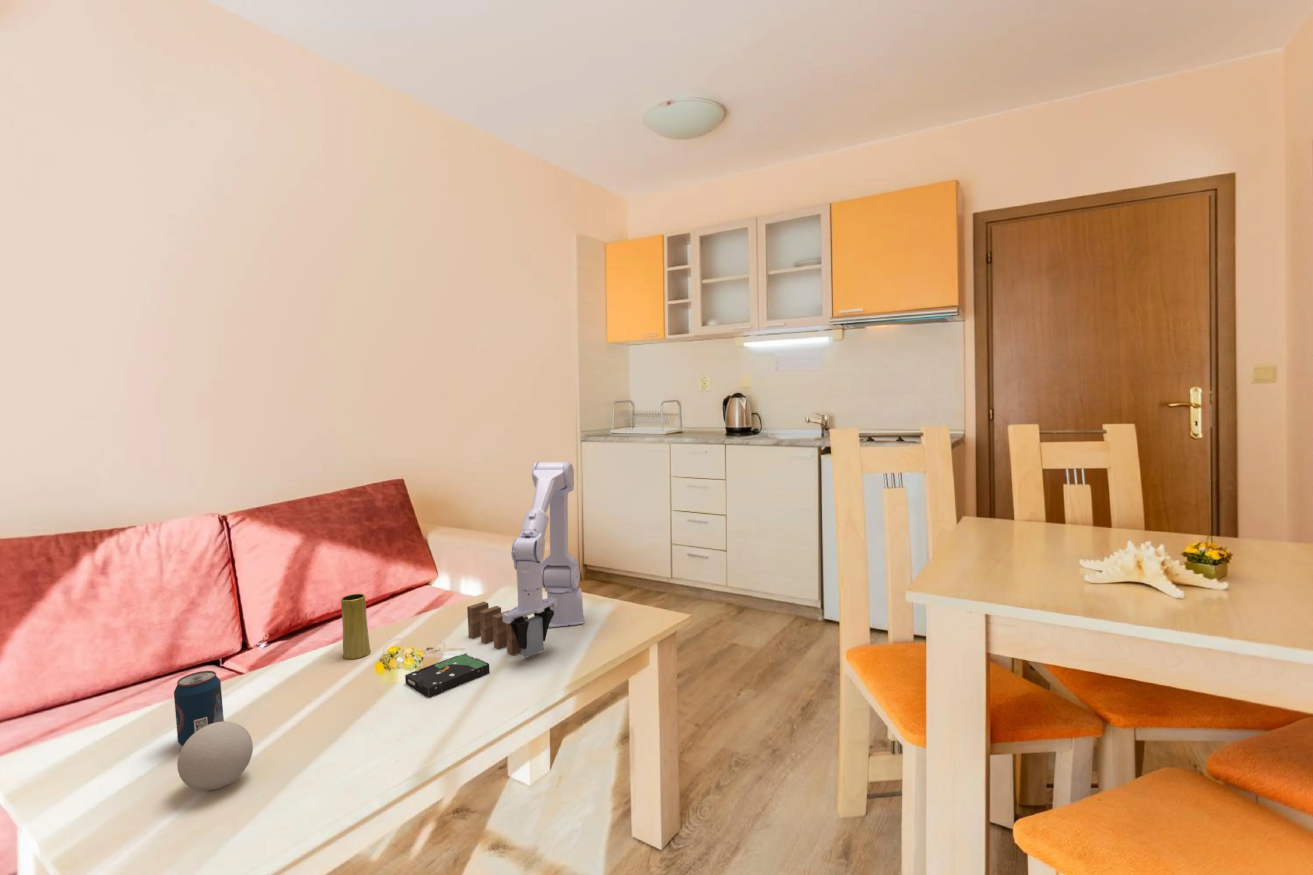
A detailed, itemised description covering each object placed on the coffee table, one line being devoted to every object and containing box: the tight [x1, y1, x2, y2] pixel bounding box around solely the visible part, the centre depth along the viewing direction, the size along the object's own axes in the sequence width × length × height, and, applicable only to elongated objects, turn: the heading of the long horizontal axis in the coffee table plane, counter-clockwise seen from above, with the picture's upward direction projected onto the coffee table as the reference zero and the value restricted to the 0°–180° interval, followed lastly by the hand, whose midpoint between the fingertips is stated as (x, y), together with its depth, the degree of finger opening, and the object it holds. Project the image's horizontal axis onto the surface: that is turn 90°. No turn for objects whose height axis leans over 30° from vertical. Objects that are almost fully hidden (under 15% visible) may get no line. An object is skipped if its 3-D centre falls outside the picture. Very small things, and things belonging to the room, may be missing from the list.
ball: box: [176, 721, 254, 792], centre depth 102 cm, size 10×10×10 cm
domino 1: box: [480, 605, 502, 645], centre depth 160 cm, size 2×5×8 cm, turn 139°
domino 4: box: [520, 615, 545, 658], centre depth 149 cm, size 2×5×8 cm, turn 139°
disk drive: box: [404, 653, 491, 699], centre depth 139 cm, size 10×3×15 cm
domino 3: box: [506, 615, 529, 656], centre depth 152 cm, size 2×5×8 cm, turn 139°
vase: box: [340, 593, 372, 660], centre depth 153 cm, size 6×6×14 cm
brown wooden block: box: [492, 609, 511, 651], centre depth 156 cm, size 2×5×8 cm, turn 139°
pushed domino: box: [466, 601, 490, 640], centre depth 163 cm, size 2×5×8 cm, turn 139°
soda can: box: [173, 670, 225, 747], centre depth 115 cm, size 7×7×12 cm
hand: (532, 644), depth 149 cm, fingers closed on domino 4, 5 cm apart
